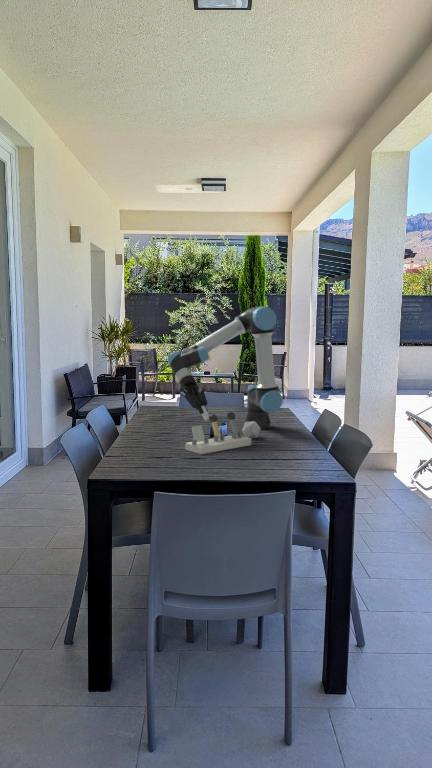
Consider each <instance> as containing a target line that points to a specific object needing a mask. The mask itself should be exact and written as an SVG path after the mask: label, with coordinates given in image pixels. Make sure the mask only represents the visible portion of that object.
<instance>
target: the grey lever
mask: <svg viewBox="0 0 432 768" xmlns="http://www.w3.org/2000/svg"><path fill="white" fill-rule="evenodd" d="M226 418H227V420H229V423H230V428H231V431H232V433H236V436H238V435H239V433H238V432H239V429H238V427H237V426H238V425H237V422H236V413H235V412H233V411H229V412H228V413H227V414H226Z"/></svg>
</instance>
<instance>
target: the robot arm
mask: <svg viewBox="0 0 432 768" xmlns="http://www.w3.org/2000/svg"><path fill="white" fill-rule="evenodd" d="M276 322H277V316H276V313H275V311H274V310H273V309H272V308H270V307H267V306H254V307H253V306H252V307H250V308H248V309H247V310H244V312H242V313H240V314H239V315H237V316H236V317H234V320H233V321H231V322H229V323H228V324H226V325H224V326H222V327H221V328H219V329H218V330H216V331H214V332H212V333H210V334H209V335H207V336H206V337H205V338H202V339H201V340H199V341H198V342H195V343H194V344H192V345H191V346H189V347H185V348H183V349H182V350H181V352H180V351H173V352H171V353H169V355H168V356H167V359H166V360H167V362H168V364H169V368H171V371H172V372H173V374H174V376H175V378H176V380H177V381H178V383H179V385H180V388H181V390H182V391H181V393H180V394H181V396H182V397H184V398H185V400H186V401H187V402H188V404H190V406H191V407H192V408H193V409H195V410H196V411H198V412H199V414H200V415H201V416H202V417H203V419H204V421H209V416H210V414H209V411H208V408H207V406H208V404H209V403H208V400H207V398H206V393H205V388H204V387H203V388H200V386H198V384H197V380H196V379H195V376H194V375H193V374H192V372H191V370H190V369H191V368H192V367H195V366H198V365H200V364H204V363H206V362H207V361H209V358H210V357H209V353H210V352H212V351H213V350H215V349H217V348H218V347H220V346H221V345H223V344H225V343H227V342H229V341H230V340H231V339H233V338H235V337H237V336H239V335H240V334H242V335H243V334H246V333H248V332H250V333H251V334H250V335H252V337H254V346H255V358H256V360H255V361H256V369H257V371H256V372H257V382H258V383H257V384H249V385H248V386H247V390H246V393H247V399H246V401H247V404H246V405H247V406H246V414H245V418H244V420H243V426H244V425H245V422H256V423H257V424H258V426H259V427H260V428H261V429H260V430H266V429H271V428H272V420H271V416H270V413H276V412H277V411H278V410H279V409H281V407H282V404H283V399H284V398H283V395H282V394H281V393H280V392H279V389H280V388H279V384H278V382H277V383H276V380H275V379H276V378H275V377H276V376H275V368H274V367H275V365H274V354H273V353H274V352H273V343H272V335H273V334H274V333H275V330H274V329H275V326H276Z"/></svg>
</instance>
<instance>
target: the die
mask: <svg viewBox="0 0 432 768" xmlns="http://www.w3.org/2000/svg"><path fill="white" fill-rule="evenodd" d="M261 430H262V429H261V428H260V427H259V426H258V424H257V423H256V422H245V425H244V424H243V427H242V429H241V432H242V434H243V435H244V437H247V438H251V439H257V438H258V436H259V433H260V431H261Z"/></svg>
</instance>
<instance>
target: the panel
mask: <svg viewBox="0 0 432 768" xmlns="http://www.w3.org/2000/svg"><path fill="white" fill-rule="evenodd" d="M238 433H239V435H238V436H236V433H233V432H232V433H231V435H227V436H226V435H225V434H220V435H221V438H220V439H218V436H215V435H213V437H212V438H209V437H206V436H204V438H205V441H201V442H197V440H196V439H194V438H192V439H191V441H189V442H185V445H184V446H185V448H184V450H187V451H188V452H191V453H196V454H199V455H204V454H209V453H215V452H220V451H225V450H226V451H227V450H231V449H236V448H241V447H247V446H248V447H249V446H252V438H247V437H246V436H243V432H242V431H238Z"/></svg>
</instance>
